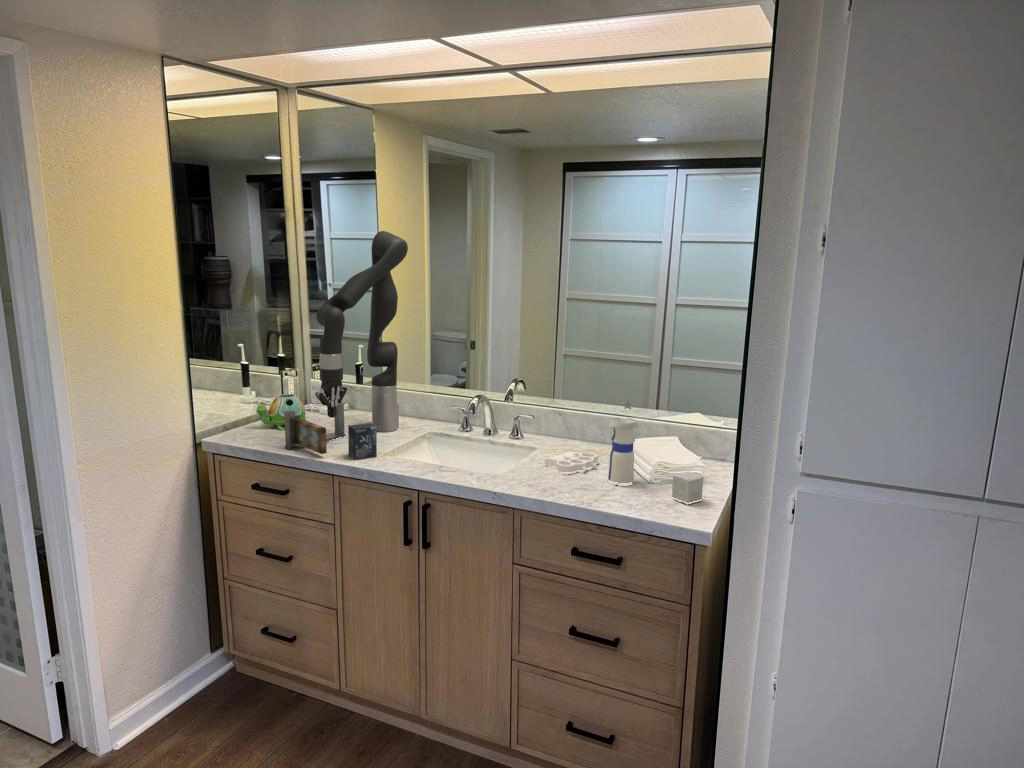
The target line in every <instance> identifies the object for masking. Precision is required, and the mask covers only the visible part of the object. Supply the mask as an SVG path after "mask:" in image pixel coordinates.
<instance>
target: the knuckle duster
mask: <svg viewBox="0 0 1024 768" xmlns="http://www.w3.org/2000/svg"><path fill="white" fill-rule="evenodd" d="M598 461H599V455H598V454H596V453H593V452H575V451H567V452H564V453H562V454H558V455H555V456H553V457H548V458H546V459H545V460H544V464H548V465H551V466H556V467H557V468H556V469H557V470H558V471H561V472H573V471H577V470H587V469H586V468H588V467H594V468H596V467H598V465H596V464H595V463H596V462H598ZM598 463H599V462H598ZM595 466H596V467H595Z"/></svg>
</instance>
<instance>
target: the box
mask: <svg viewBox="0 0 1024 768" xmlns="http://www.w3.org/2000/svg"><path fill="white" fill-rule="evenodd" d="M347 428H348V432H347V433H348V437H347V438H348V439H347V440H348V441H347V442H348V450H347V451H348V457H350V458H351V457H352V458H353V459H352V458H351V459H352V460H354V461H356V459H357V460H361V459H362V458H363V459H368V458H377V457H378V455H377V453H378V452H377V451H378V448H377V441H378V440H377V432H378V431H377V427H376V426H375V425H373V424H372V422H366V423H358V424H348V427H347Z"/></svg>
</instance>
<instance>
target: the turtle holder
mask: <svg viewBox="0 0 1024 768" xmlns="http://www.w3.org/2000/svg"><path fill="white" fill-rule="evenodd" d="M289 410H291V411H295V415H300V419H303V420H305V421H307V420H306V419H307V417H306V407H305V405H304V403H303V401H302V400H301V399H300V398H299V397H297V395H296V394H294V393H286V394H279V395H276V397H275V398H274V399H273V400H272V401H271V403H270V406H269V409H268V407H267V406H266V405H265V404H258V405H257V406H256V409H255V412H256V414H258V417H259V419H260V421H261V423H262V424H264V425H272V426H276V428H277V430H278V429H280V430H279V431H285V430H284V429H285V417H284V412H285V411H289ZM267 412H268V414H267ZM283 426H284V427H283Z"/></svg>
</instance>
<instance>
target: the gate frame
mask: <svg viewBox="0 0 1024 768" xmlns="http://www.w3.org/2000/svg"><path fill="white" fill-rule="evenodd" d="M336 411H337V414H336V417H333V419H334V432H332V433H328V434H327V433H326V441H328V442H330V441H329V440H331V441H333V440H332V439H335V440H337V439H336V438H339V437H342V438H344V436H346V437H347V434H346V433H345V404H344V403H343V402H341V403H338V405H337V410H336ZM284 417H285V425H284V428H285V430H284V438H285V439H284V440H285V445H284V449H285V450H287V451H288V450H289V451H299V450H301V449H306V448H305V447H303V446H300V445H298V444H296V430H295V411H291V410H289V411H285V412H284ZM339 439H340V438H339Z"/></svg>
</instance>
